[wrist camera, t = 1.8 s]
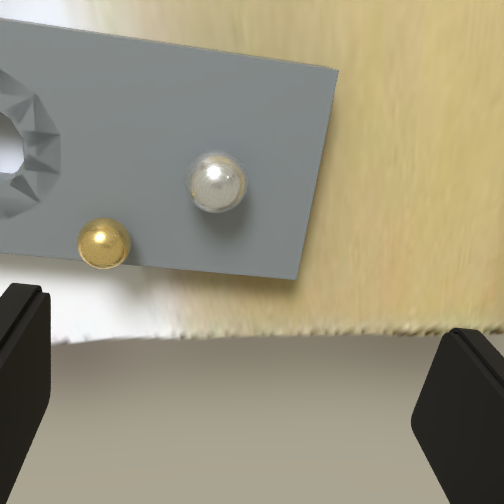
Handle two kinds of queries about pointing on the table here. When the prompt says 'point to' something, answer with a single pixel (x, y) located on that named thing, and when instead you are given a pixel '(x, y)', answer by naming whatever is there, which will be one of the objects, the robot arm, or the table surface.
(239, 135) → the hole board
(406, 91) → the table surface
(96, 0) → the table surface
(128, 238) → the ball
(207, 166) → the ball
